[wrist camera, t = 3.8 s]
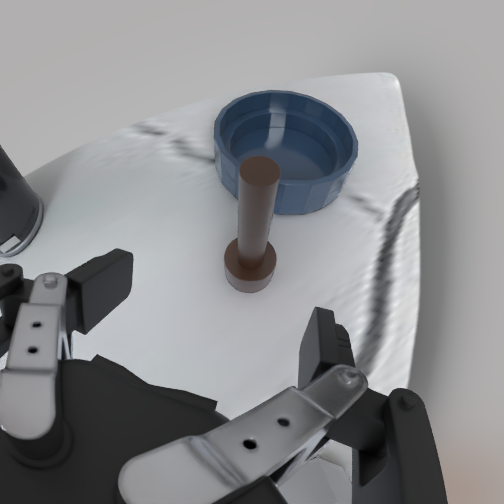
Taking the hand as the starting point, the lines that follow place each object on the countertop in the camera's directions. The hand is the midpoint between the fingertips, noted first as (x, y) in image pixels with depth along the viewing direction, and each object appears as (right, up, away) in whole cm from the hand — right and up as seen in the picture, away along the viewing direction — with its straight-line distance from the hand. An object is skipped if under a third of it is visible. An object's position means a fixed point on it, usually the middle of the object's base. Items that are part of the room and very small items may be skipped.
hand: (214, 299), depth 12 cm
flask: (+7, -19, +7) cm, 22 cm away
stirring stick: (+1, 0, +16) cm, 16 cm away
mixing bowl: (+5, +12, +22) cm, 26 cm away
